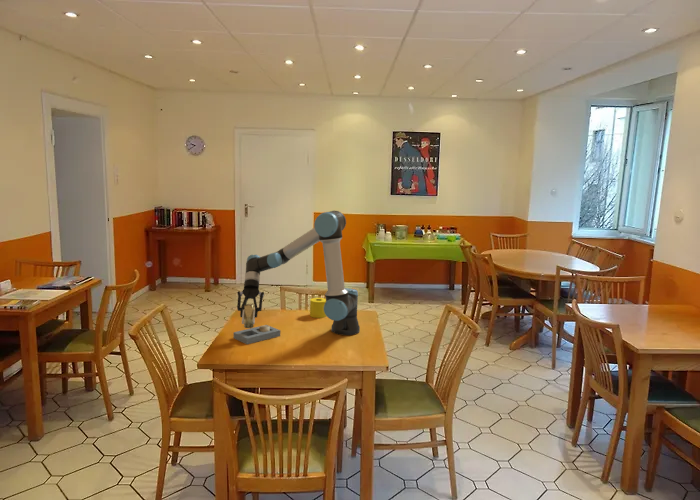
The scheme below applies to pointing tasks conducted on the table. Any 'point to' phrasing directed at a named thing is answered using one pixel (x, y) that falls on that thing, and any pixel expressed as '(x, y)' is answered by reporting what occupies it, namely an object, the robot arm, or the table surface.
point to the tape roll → (317, 307)
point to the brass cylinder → (248, 315)
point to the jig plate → (255, 335)
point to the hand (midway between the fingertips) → (248, 322)
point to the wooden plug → (264, 328)
